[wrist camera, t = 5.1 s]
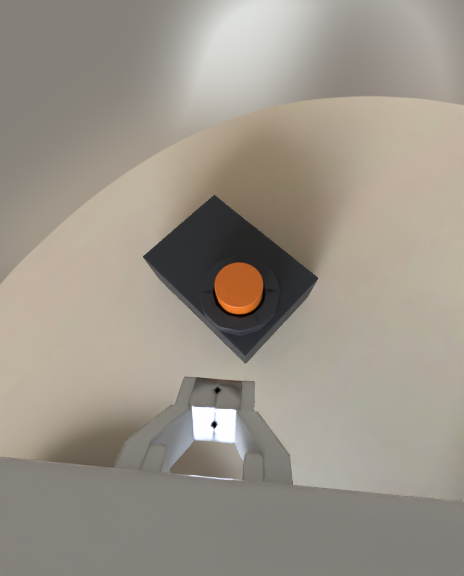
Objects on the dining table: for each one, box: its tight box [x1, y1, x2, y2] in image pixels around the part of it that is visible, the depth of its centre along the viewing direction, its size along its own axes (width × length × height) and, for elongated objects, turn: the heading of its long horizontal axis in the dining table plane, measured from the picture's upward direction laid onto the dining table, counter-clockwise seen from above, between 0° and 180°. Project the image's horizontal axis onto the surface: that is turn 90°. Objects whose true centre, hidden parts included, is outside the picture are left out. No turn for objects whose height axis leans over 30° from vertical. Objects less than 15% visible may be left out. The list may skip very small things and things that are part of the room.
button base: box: [143, 195, 318, 363], centre depth 31 cm, size 14×10×8 cm
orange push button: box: [214, 262, 263, 315], centre depth 26 cm, size 4×4×2 cm
